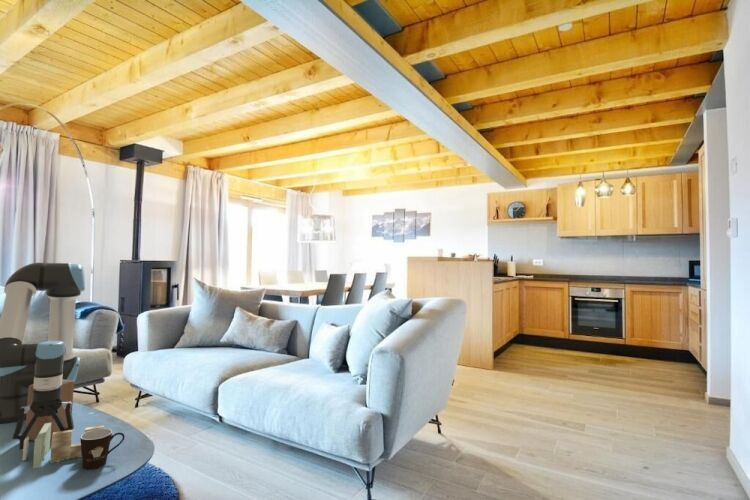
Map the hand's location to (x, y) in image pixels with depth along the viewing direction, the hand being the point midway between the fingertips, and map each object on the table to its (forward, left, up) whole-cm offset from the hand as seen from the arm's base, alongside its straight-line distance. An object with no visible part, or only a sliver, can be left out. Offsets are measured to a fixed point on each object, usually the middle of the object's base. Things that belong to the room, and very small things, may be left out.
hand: (42, 455), depth 133 cm
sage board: (+1, 0, 0) cm, 1 cm away
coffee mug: (+16, +15, 0) cm, 22 cm away
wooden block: (-18, +2, 0) cm, 18 cm away
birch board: (+6, +9, 0) cm, 11 cm away
